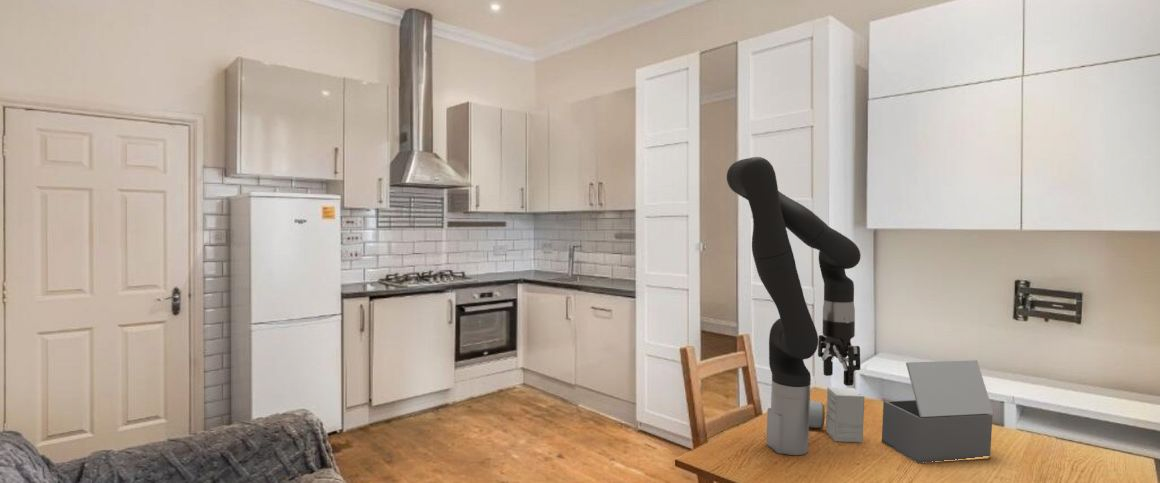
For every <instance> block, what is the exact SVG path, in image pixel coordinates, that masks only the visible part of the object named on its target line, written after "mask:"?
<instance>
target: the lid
mask: <svg viewBox="0 0 1160 483" xmlns="http://www.w3.org/2000/svg"><path fill="white" fill-rule="evenodd" d="M905 365H906V368H907V373H908V376H909V380H910V383H911V388H912V392H913V395H914V400H916V403H917V407H918V411H919V414H920V417H932V416H952V415H972V414H990V415H992V414H994V410H993V407H992V404H991V401H990V397H989V394H988V392H987V389H986V384H985V382H984V381H985V380H984V378H983V375H982V371H981V368H980V365H979V362H978V360H977V359H976V360H947V361H946V360H944V361H943V360H941V361H918V362H917V361H916V362H914V361H912V362H905Z"/></svg>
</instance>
